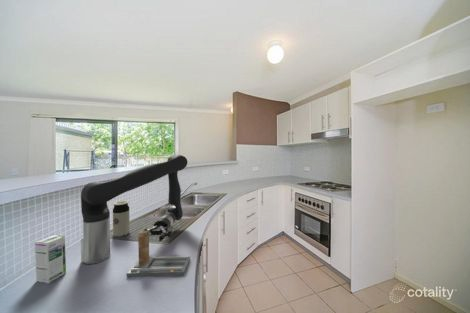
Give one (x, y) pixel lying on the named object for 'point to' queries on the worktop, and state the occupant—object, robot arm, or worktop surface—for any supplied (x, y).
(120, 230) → the labelled jar
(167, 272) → the grey slider track base
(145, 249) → the fader tab
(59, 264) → the syrup box
